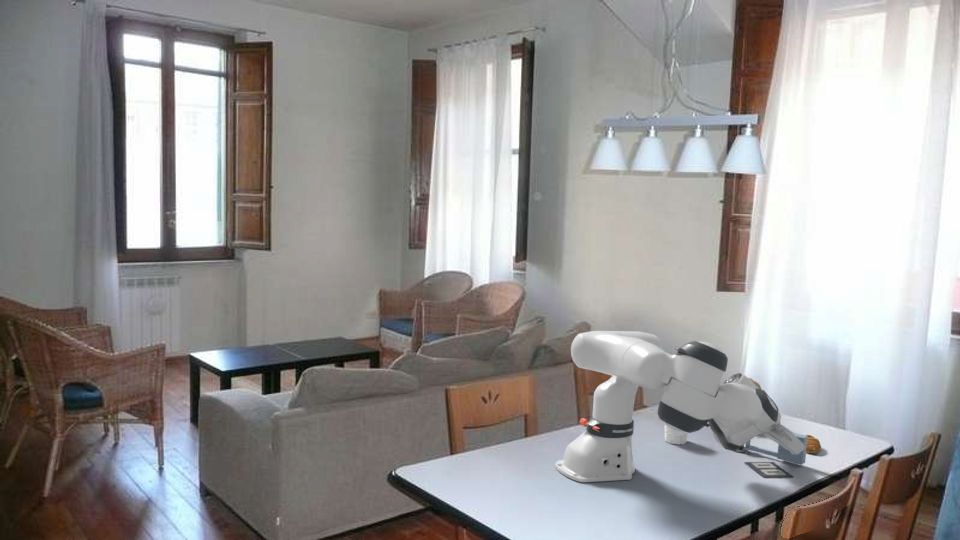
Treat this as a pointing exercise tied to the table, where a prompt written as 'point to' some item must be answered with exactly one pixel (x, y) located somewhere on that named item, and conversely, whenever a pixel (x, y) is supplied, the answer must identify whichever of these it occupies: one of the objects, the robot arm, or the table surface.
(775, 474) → the label panel
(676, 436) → the white cup
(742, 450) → the pivot post
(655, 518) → the table surface
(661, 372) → the robot arm
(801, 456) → the swing arm
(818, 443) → the pastry
